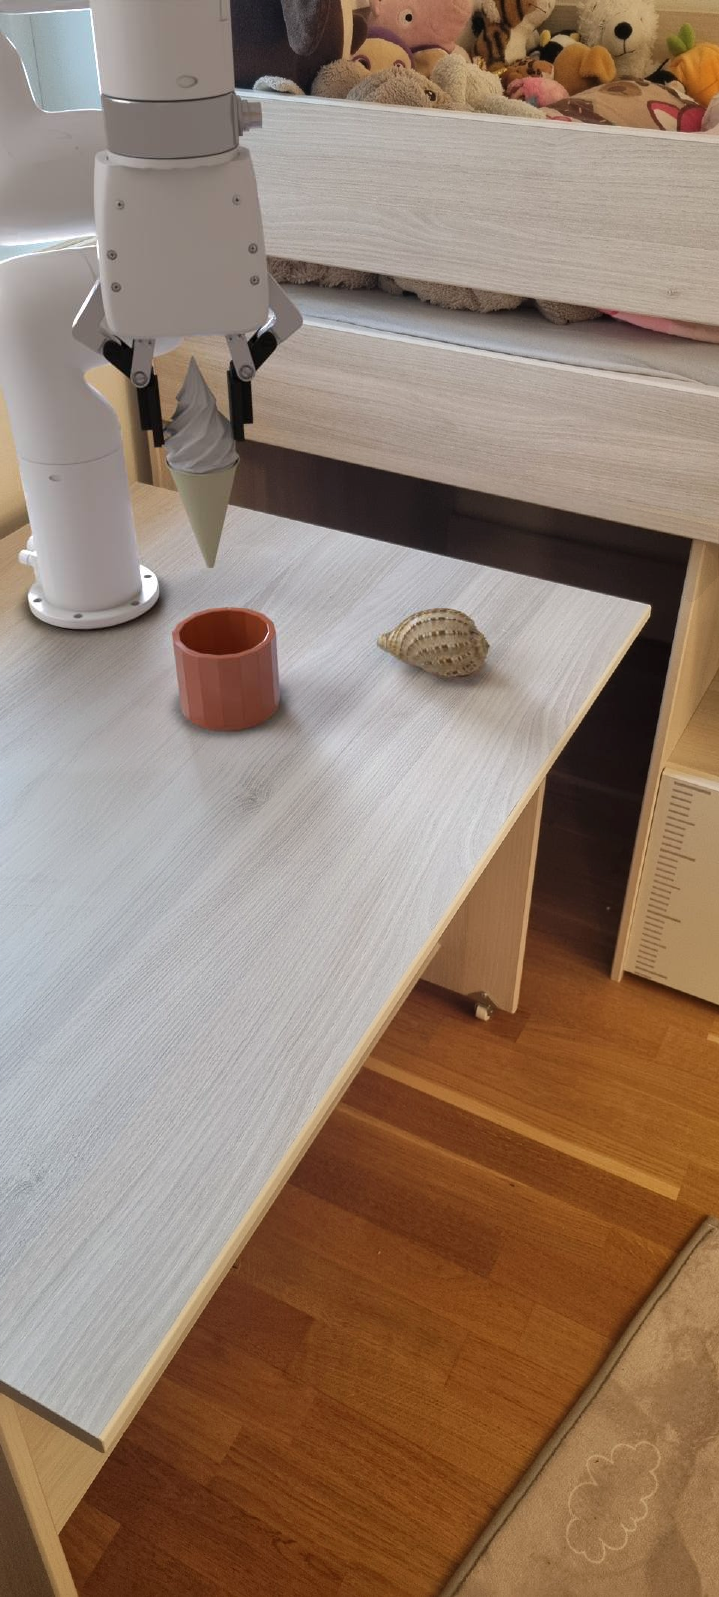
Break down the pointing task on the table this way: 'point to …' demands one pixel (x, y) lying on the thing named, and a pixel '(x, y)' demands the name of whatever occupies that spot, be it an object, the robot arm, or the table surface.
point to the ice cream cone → (201, 460)
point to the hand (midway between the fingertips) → (198, 433)
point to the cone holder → (227, 668)
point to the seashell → (438, 643)
